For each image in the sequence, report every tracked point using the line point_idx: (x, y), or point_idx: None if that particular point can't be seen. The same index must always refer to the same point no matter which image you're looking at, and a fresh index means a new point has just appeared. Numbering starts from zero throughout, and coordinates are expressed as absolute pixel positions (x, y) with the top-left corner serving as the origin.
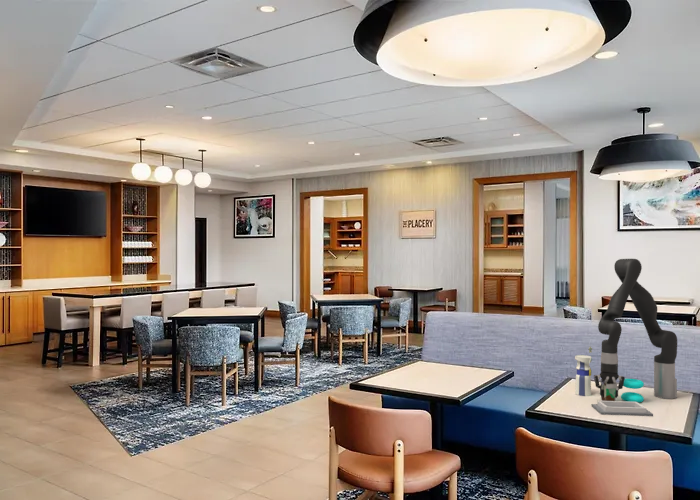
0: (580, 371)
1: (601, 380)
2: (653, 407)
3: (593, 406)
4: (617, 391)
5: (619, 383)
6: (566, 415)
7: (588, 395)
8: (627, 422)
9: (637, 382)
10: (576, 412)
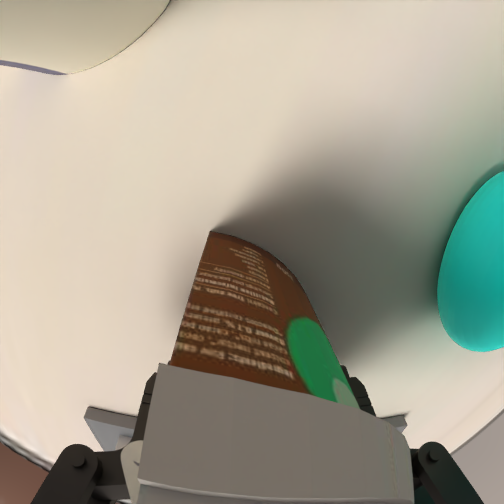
0: None
1: (174, 488)
2: (467, 390)
3: (98, 436)
4: None
5: (436, 502)
6: (27, 452)
7: (105, 56)
8: None
9: None
10: (43, 445)
